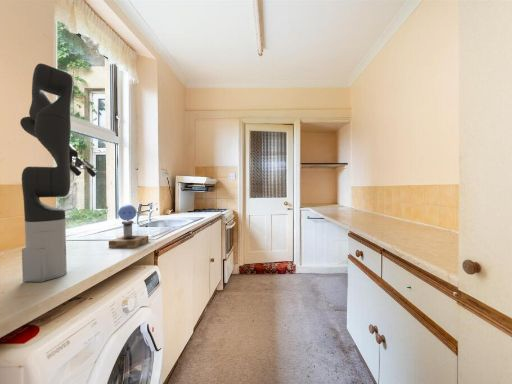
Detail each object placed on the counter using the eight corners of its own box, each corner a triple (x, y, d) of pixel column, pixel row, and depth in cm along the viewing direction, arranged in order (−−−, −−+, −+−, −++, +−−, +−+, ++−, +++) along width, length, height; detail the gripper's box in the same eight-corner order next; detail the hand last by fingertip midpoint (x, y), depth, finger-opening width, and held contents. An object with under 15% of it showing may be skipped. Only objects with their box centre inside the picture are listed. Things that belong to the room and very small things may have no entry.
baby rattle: (119, 237, 128) (118, 204, 128) (137, 236, 132) (136, 203, 131) (117, 241, 120) (117, 205, 120) (136, 239, 124) (136, 204, 123)
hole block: (134, 247, 106) (134, 241, 106) (108, 247, 107) (108, 241, 107) (148, 241, 118) (148, 235, 118) (125, 241, 119) (125, 235, 119)
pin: (130, 246, 110) (129, 222, 109) (120, 245, 110) (119, 222, 110) (136, 243, 114) (135, 220, 114) (126, 243, 115) (125, 220, 114)
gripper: (52, 140, 98) (79, 167, 97) (80, 146, 112) (104, 170, 111) (41, 153, 98) (68, 180, 98) (70, 157, 113) (94, 181, 112)
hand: (87, 175), depth 105 cm, fingers open, 8 cm apart
